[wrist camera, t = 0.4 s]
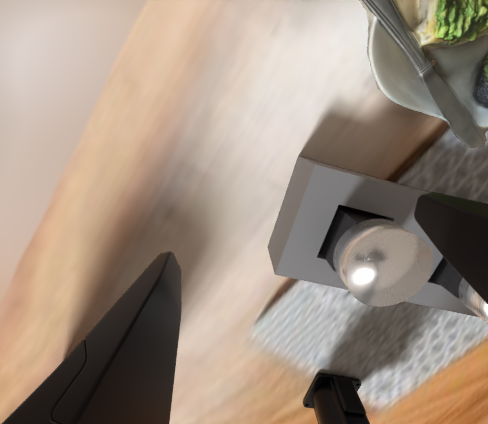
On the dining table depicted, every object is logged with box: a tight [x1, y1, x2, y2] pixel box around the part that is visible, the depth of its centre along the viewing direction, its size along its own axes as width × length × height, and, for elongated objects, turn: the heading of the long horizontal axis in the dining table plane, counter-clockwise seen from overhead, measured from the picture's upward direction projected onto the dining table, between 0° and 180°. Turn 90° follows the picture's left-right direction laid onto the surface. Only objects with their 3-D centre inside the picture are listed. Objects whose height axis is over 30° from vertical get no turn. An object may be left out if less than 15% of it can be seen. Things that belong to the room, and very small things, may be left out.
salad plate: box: [359, 0, 488, 148], centre depth 17 cm, size 19×18×5 cm
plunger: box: [320, 205, 433, 307], centre depth 19 cm, size 6×6×7 cm
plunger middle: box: [431, 257, 488, 323], centre depth 20 cm, size 6×6×7 cm
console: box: [268, 156, 479, 317], centre depth 24 cm, size 10×33×5 cm, turn 75°
